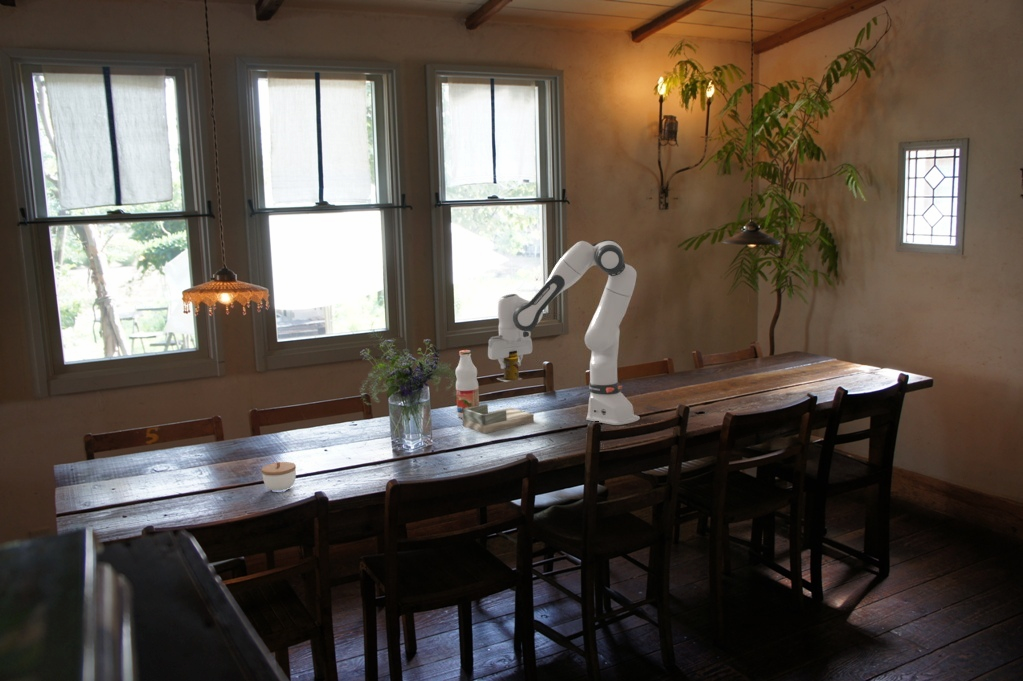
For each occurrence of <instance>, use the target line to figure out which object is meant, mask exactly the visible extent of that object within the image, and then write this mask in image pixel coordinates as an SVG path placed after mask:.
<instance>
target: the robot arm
mask: <svg viewBox="0 0 1023 681" xmlns="http://www.w3.org/2000/svg"><path fill="white" fill-rule="evenodd" d="M593 266H598V269H600V270H601V271H603V272H604V273H606V274H607V275H608V278H607V281H606V284H605V286H604V290H603V292H602V295H601V298H600V300H599V304H598V306H597V308H596V310H595V312H594V314H593V316H592V319H591V321H590V323H589V326H588V328H587V330H586V332H585V335H584V344H585V346H586V348H587V349H589V350H590V351H591V354H590V355H591V356H590V361H589V383H588V389H589V390H588V391H589V393H590V394H589V398H588V409H587V416H586V421H592V422H595V421H599V422H598V423H600V424H601V423H602V424H607V425H612V426H613V425H614V426H621V425H626V424H632V423H635V422H638V421H639V420H640V419H641V418H640V416H639V415H636V414H634V406H633V404H632V403H631V401H630V400H628V398H627V397H626V396H625V395H624V393H622V388H623V385H620V382H618V355H619V346H620V345H619V344H620V333H621V332H620V330H621V329H620V325H621V323H622V320H623V319H624V317H625V315H626V313H627V309H628V307H629V304H630V301H631V298H632V296H633V293H634V290H635V286H636V280H637V271H636V269H635V268H634V267H633V266H631V265H630V264H628V263H626V262H625V256H624V251H623V249H622V247H621V245H620V244H619V243H618V242H617V241H615V240H613V239H605V240H602V241H599V242H597V243H593V244H591V243H590V242H588V241H585V240H580V241H578V242H576V243H574V245H573V246H571V247H570V248H569V249H568V250H567V251H566V252H565V253H564V254H563V255H562V256H561V258H559V260H558V261H557V262H556V264H555V266H554V267H553V269H552V270H551V273H550V274H549V276H548V277H547V280H546V282H545V283H544V284H543V286H542V287H541V288H540V289H539V290H538V292H536V294H535V295H534V296H533V297H532V299H531V300H527V299H526V298H525V299H524V298H522V297H521V296H519V295H518V294H516V293H510V294H506V295H504V296H501V297H500V298H499V300H498V303H497V318H498V335H496V336H491V337H490V338H489V340H488V347H487V357H488V359H490V360H492V361H493V360H494V361H495V360H497V361H498V363H499V364H500V369H502V370H504V369H505V368H506V364H504V358H507V357H509V352H511V351H517V356H518V367H520V366H521V365H522V363H521V362H522V361H523V358H524V355H530V354H531V353H532V352H533V341H532V340H533V339H532V337H531V336H532V335H531V331H532V330H534V329H535V327H537V325H538V324H539V323H540V321H541V320H543V316H544V310H545V309H546V308H547V307H548V306H549V304H550V303H552V301H553V300H554V299H555V298H556V297H557V296H559V294H561V293H562V292H564V291H566V290H567V289H569V288H570V287H572V286H573V285H574V284H576V282H578V281H579V280H580V279H581V278H582V277H583V275H585V274H586V273H587V271H588V270H589V269H590V268H592V267H593ZM521 367H522V366H521Z"/></svg>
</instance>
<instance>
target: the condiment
mask: <svg viewBox="0 0 1023 681" xmlns="http://www.w3.org/2000/svg"><path fill="white" fill-rule="evenodd" d="M503 363H504V364H506V368H505V369H503V377H497V378H496V380H498V381H501V382H512V381H521V380H523V378H521V377H520V376H519V375H520V373H519V366H518V356H517V351H511V352H509V357H507V358H504V361H503Z"/></svg>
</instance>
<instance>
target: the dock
mask: <svg viewBox="0 0 1023 681" xmlns="http://www.w3.org/2000/svg"><path fill="white" fill-rule="evenodd" d="M488 406H489V405H488V404H486V403H485V404H479V406H475V407H471V408H466V409H463V418H461V420H462V426H463V427H465V428H469V429H471V430H474V431H477V432H479V433H482V434H489V433H493V432H496V431H501V430H504V429H509V428H514V427H519V426H522V425H526V424H530V422H531V423H534V422H535V420H534V416H535V415H534V414H532V413H529V412H526V411H522V410H520V409H516V408H512V407H508V408H503V409H498V410H495V411H490V412H489V407H488Z"/></svg>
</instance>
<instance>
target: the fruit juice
mask: <svg viewBox="0 0 1023 681" xmlns="http://www.w3.org/2000/svg"><path fill="white" fill-rule="evenodd" d="M458 354H459V356H460V357H459V361H458V363H457V367H455V373H454V374H455V376H456V381H455V393H456V412H457V417H458V418H460V419H462V418H463V409H466V408H471V407H475V406H480V395H479V394H480V393H479V382H478V379H477V376H478V369H477V367H476V366H475V365H474V363H473V361H472V357H471V355H472V351H471V350H469V349H463V350H459V352H458Z"/></svg>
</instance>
